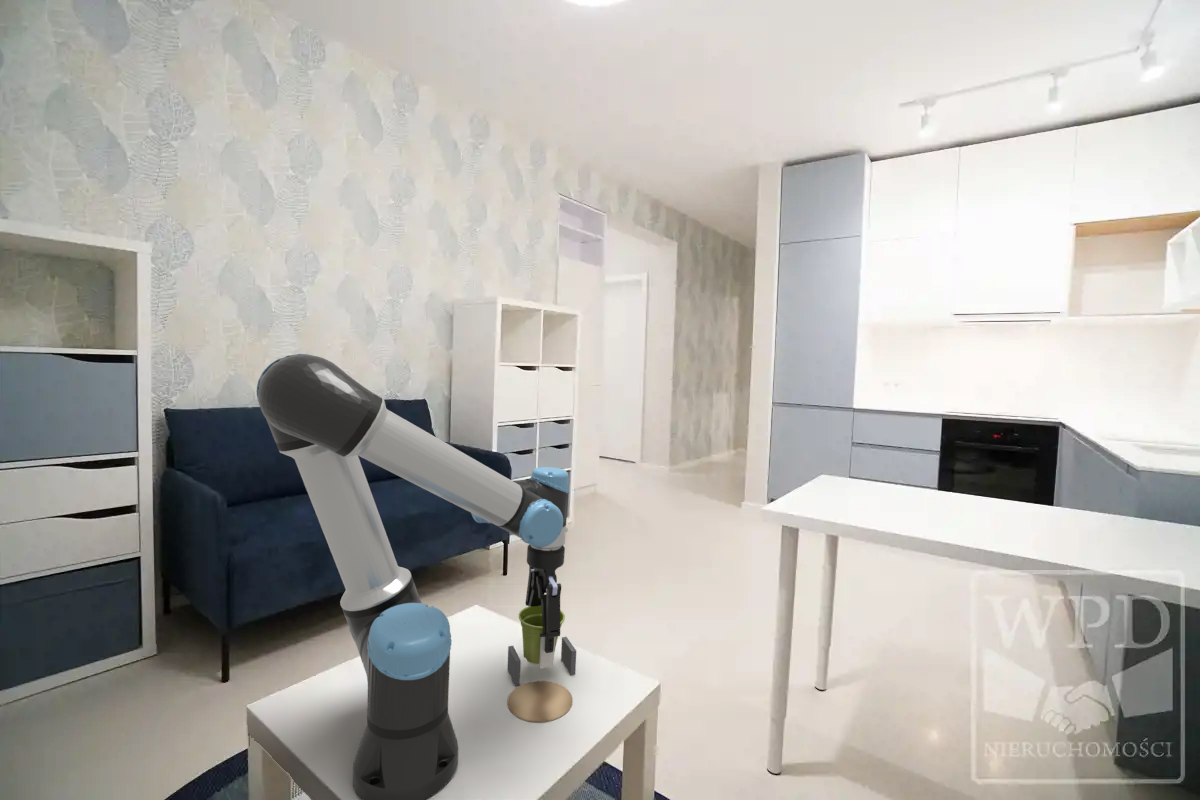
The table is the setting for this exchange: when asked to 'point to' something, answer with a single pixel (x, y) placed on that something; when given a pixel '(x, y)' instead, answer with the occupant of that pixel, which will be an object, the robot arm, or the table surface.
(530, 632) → the plant pot
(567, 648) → the twin grey plates
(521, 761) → the table surface
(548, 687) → the coaster
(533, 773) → the table surface
